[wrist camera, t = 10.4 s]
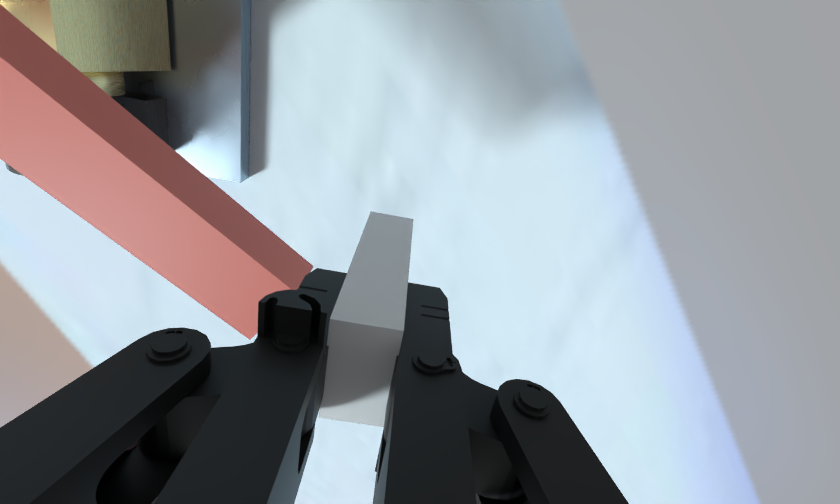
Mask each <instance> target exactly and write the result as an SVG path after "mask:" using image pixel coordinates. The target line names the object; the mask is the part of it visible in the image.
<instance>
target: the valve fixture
mask: <svg viewBox="0 0 840 504" xmlns="http://www.w3.org/2000/svg"><path fill="white" fill-rule="evenodd" d="M0 5H1V6H3V7H4V8H5V9H6V10H7V11H9V12H10V13H11V14H12V15H13V16H15V17H16V18H17V19H18V20H19V21H21V22H22V23H23V24H24V25H25V26H27V27H28V28H29V29H30V30H31V31H33V32H34V33H35V34H36V35H37V36H38V37H40V38H41V39H42V40H43V41H44V42H46V43H47V44H48V45H49V46H50V47H52V48H53V49H54V50H55V51H56V52H58V53H59V54H60V55H61V56H62V57H64V58H65V59H66V60H67V61H68V62H70V63H71V64H72V65H73V66H74V67H76V68H77V69H78V70H79V71H80V72H82V73H83V74H84V75H85V76H86V77H88V78H89V79H90V80H91V81H92V82H93V83H95V84H96V85H97V86H98V87H99V88H101V89H102V90H103V91H104V92H105V93H107V94H108V95H109V96H110V97H111V98H113V99H114V100H115V101H116V102H117V103H119V104H120V105H121V106H122V107H123V108H125V109H126V110H127V111H128V112H129V113H131V114H132V115H133V116H134V117H135V118H137V119H138V120H139V121H140V122H141V123H143V124H144V125H145V126H146V127H147V128H149V129H150V130H151V131H152V132H153V133H154V134H156V135H157V136H158V137H159V138H160V139H162V140H163V141H164V142H165V143H166V144H168V145H169V146H170V147H171V148H172V149H174V150H175V151H176V152H177V153H178V154H180V155H181V156H182V157H183V158H184V159H186V160H187V161H188V162H189V163H190V164H192V165H193V166H194V167H195V168H196V169H198V170H199V171H200V172H201V173H202V174H204V175H205V176H207V177H213V178H218V179H223V180H229V181H234V182H240V183H241V182H242V181H244V180H246V179H247V178H249V102H250V18H251V0H0ZM5 164H6V168H7V169H8V170H9V171H11V172H13V173H16V174H19V175H22V174H21V173H19V172H18V171H16V170H15V169H14V168H12V167H11V166H10V165H8V164H7V163H5Z"/></svg>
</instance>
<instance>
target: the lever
mask: <svg viewBox="0 0 840 504" xmlns="http://www.w3.org/2000/svg"><path fill="white" fill-rule="evenodd" d="M0 159H1V160H3V161H4V162H5V163H7V164H8V165H10V166H11V167H12V168H14V169H15V170H16V171H18V172H19V173H21V174H22V175H23V176H25V177H26V178H28V179H29V180H30V181H32V182H33V183H34V184H36V185H37V186H39V187H40V188H41V189H43V190H44V191H45V192H47V193H48V194H50V195H51V196H52V197H54V198H55V199H57V200H58V201H59V202H61V203H62V204H63V205H65V206H66V207H68V208H69V209H70V210H72V211H73V212H74V213H76V214H77V215H79V216H80V217H81V218H83V219H84V220H85V221H87V222H88V223H90V224H91V225H92V226H94V227H95V228H97V229H98V230H99V231H101V232H102V233H103V234H105V235H106V236H108V237H109V238H110V239H112V240H113V241H114V242H116V243H117V244H119V245H120V246H121V247H123V248H124V249H126V250H127V251H128V252H130V253H131V254H132V255H134V256H135V257H137V258H138V259H139V260H141V261H142V262H143V263H145V264H146V265H148V266H149V267H150V268H152V269H153V270H154V271H156V272H157V273H159V274H160V275H161V276H163V277H164V278H166V279H167V280H168V281H170V282H171V283H172V284H174V285H175V286H177V287H178V288H179V289H181V290H182V291H183V292H185V293H186V294H188V295H189V296H190V297H192V298H193V299H195V300H196V301H197V302H199V303H200V304H201V305H203V306H204V307H206V308H207V309H208V310H210V311H211V312H212V313H214V314H215V315H217V316H218V317H219V318H221V319H222V320H223V321H225V322H226V323H228V324H229V325H230V326H232V327H233V328H235V329H236V330H237V331H239V332H240V333H241V334H243V335H244V336H246V337H247V338H248V339H251V338H252V337H253V336H254V335H255V334H256V333H257V332H258V302H259V301H260V300H261V299H262V298H263V297H265V296H266V295H268V294H271V293H273V292H276V291H282V290H289V289H290V290H297V289H298V288H299V285H300V284H301V282H302V280H303V279H304V277H305V275H307V274H309V273H310V272H311V270H312V268H313V266H312V265H311V264H310V263H309V262H308V261H306V260H305V259H304V258H303V257H302V256H300V255H299V254H298V253H297V252H296V251H294V250H293V249H292V248H291V247H290V246H288V245H287V244H286V243H285V242H284V241H282V240H281V239H280V238H279V237H278V236H276V235H275V234H274V233H273V232H272V231H270V230H269V229H268V228H267V227H266V226H265V225H263V224H262V223H261V222H260V221H259V220H257V219H256V218H255V217H254V216H253V215H251V214H250V213H249V212H248V211H247V210H245V209H244V208H243V207H242V206H241V205H239V204H238V203H237V202H236V201H235V200H233V199H232V198H231V197H230V196H229V195H227V194H226V193H225V192H224V191H223V190H221V189H220V188H219V187H218V186H217V185H215V184H214V183H213V182H212V181H211V180H209V179H208V178H207V177H206V176H205V175H204V174H202V173H201V172H200V171H199V170H198V169H196V168H195V167H194V166H193V165H192V164H190V163H189V162H188V161H187V160H186V159H184V158H183V157H182V156H181V155H180V154H178V153H177V152H176V151H175V150H174V149H172V148H171V147H170V146H169V145H168V144H166V143H165V142H164V141H163V140H162V139H160V138H159V137H158V136H157V135H156V134H154V133H153V132H152V131H151V130H150V129H149V128H147V127H146V126H145V125H144V124H143V123H141V122H140V121H139V120H138V119H137V118H135V117H134V116H133V115H132V114H131V113H129V112H128V111H127V110H126V109H125V108H123V107H122V106H121V105H120V104H119V103H117V102H116V101H115V100H114V99H113V98H111V97H110V96H109V95H108V94H107V93H105V92H104V91H103V90H102V89H101V88H99V87H98V86H97V85H96V84H95V83H93V82H92V81H91V80H90V79H89V78H88V77H86V76H85V75H84V74H83V73H82V72H80V71H79V70H78V69H77V68H76V67H74V66H73V65H72V64H71V63H70V62H68V61H67V60H66V59H65V58H64V57H62V56H61V55H60V54H59V53H58V52H56V51H55V50H54V49H53V48H52V47H50V46H49V45H48V44H47V43H46V42H44V41H43V40H42V39H41V38H40V37H38V36H37V35H36V34H35V33H34V32H33V31H31V30H30V29H29V28H28V27H27V26H25V25H24V24H23V23H22V22H21V21H19V20H18V19H17V18H16V17H15V16H13V15H12V14H11V13H10V12H9V11H7V10H6V9H5V8H4V7H3V6H1V5H0Z"/></svg>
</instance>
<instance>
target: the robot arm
mask: <svg viewBox="0 0 840 504" xmlns="http://www.w3.org/2000/svg"><path fill="white" fill-rule="evenodd" d="M412 228H413V219H409V218H404V217H398V216H393V215H387V214H382V213H376V212H370V215H369V218H368V220H367V223H366V225H365V228H364V231H363V233H362V236H361V239H360V241H359V244H358V246H357V249H356V252H355V254H354V257H353V259H352V262H351V265H350V267H349V270H348V273H342V272H336V271H331V270H325V269H319V268H317V269H315V270H314V271H312V272H310V273H309V274H307V275H305V277H304V279H303V280H302V282H301V284H300V285H299V288H298V289H297V290H290V289H289V290H282V291H276V292H273V293H271V294H268V295H266V296H265V297H263V298H262V299H261V300H260V301H259V302H258V336H257V338H256V340H255V341H254V343H250V344H247V345H241V346H234V347H218V348H211V343H210V341H209V339H208V338H207V336H206V335H205V334H203V333H201V332H199V331H198V330H194V329H188V328H168V329H164V330H160V331H156V332H152V333H150V334H148V335H146V336H144V337H142V338H140V339H138V340H137V341H135V342H133V343H132V344H130V345H129V346H127V347H126V348H124V349H122V350H121V351H119V352H118V353H116V354H115V355H113V356H112V357H110V358H108V359H107V360H105V361H104V362H102V363H101V364H99V365H98V366H96V367H94V368H93V369H91V370H90V371H88V372H87V373H85V374H83V375H82V376H80V377H79V378H77V379H76V380H74V381H73V382H71V383H69V384H68V385H66V386H65V387H63V388H62V389H60V390H59V391H57V392H55V393H54V394H52V395H51V396H49V397H48V398H46V399H45V400H43V401H41V402H40V403H38V404H37V405H35V406H34V407H32V408H31V409H29V410H28V411H26V412H24V413H23V414H21V415H20V416H18V417H17V418H15V419H14V420H12V421H10V422H9V423H7V424H6V425H4V426H2V427H1V428H0V504H294V502H295V498H296V495H297V492H298V488H299V485H300V482H301V478H302V475H303V472H304V468H305V465H306V462H307V458H308V455H309V452H310V448H311V445H312V442H313V438H314V429H315V421H316V418H317V415H318V411H319V418H325V419H332V420H338V421H345V422H352V423H359V424H366V425H372V426H379V427H384V430H383V435H382V440H381V444H380V449H379V454H378V459H377V464H376V468H375V471H376V472H377V474H376V482H375V490H374V498H373V504H629V503H628V502H627V500H626V499H625V497H624V496H623V494H622V493H621V492H620V490H619V489H618V487H617V486H616V484H615V483H614V481H613V480H612V478H611V477H610V475H609V474H608V472H607V471H606V469H605V468H604V466H603V465H602V463H601V462H600V460H599V459H598V457H597V456H596V454H595V453H594V452H593V450H592V449H591V447H590V446H589V444H588V443H587V441H586V440H585V438H584V437H583V435H582V434H581V432H580V431H579V429H578V428H577V426H576V425H575V423H574V422H573V420H572V419H571V417H570V416H569V414H568V413H567V412H566V410H565V409H564V407H563V406H562V404H561V403H560V402H559V400H558V399H557V398H556V397H555V396H554V395H553V394H552V393H551V392H550V391H548V390H547V389H545V388H544V387H542V386H541V385H538V384H536V383H533V382H531V381H528V380H520V379H514V380H509V381H506V382H504V383H503V384H502V385H501V386H500V387H499V389H498V390H495V389H493V388H490V387H488V386H485V385H483V384H481V383H479V382H477V381H475V380H473V379H471V378H470V377H468V376H467V375H465V374H464V373H463V372H462V369H461V366H460V364H459V361H458V359H457V358H456V357H455V356H454V355H453V354H452V343H451V332H450V321H449V312H448V300H447V297H446V296H445V295H444V293H443V292H442V291H441V289H440V288H437V287H431V286H425V285H420V284H414V283H408V275H409V263H410V252H411V240H412ZM319 408H320V410H319Z"/></svg>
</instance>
